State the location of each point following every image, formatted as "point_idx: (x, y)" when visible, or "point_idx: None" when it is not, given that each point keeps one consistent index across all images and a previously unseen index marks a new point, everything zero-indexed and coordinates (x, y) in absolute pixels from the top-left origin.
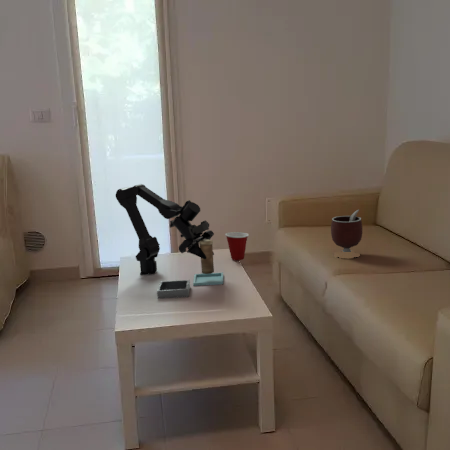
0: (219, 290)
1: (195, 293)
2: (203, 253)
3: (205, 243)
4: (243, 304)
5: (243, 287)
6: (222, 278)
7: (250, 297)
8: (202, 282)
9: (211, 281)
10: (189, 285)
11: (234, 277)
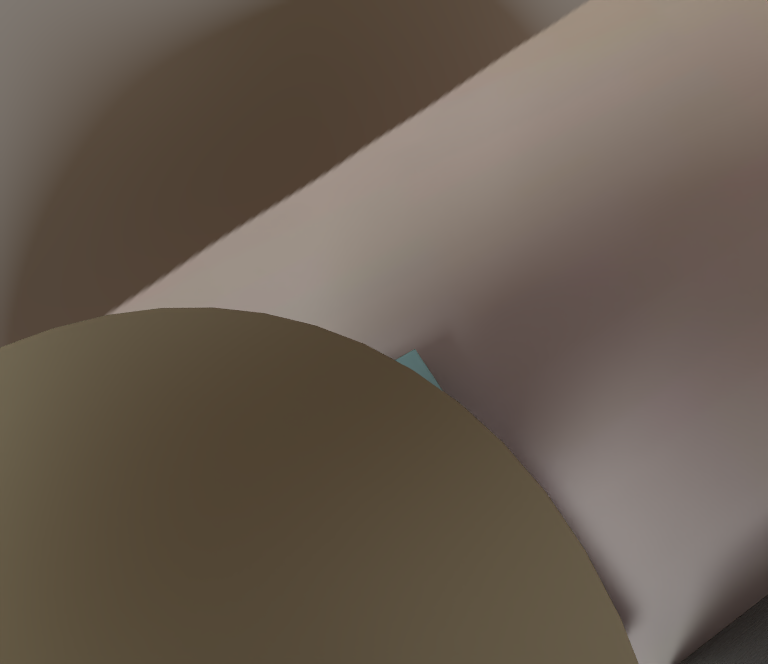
0: (552, 323)
1: (756, 498)
2: None
3: (564, 537)
4: (701, 42)
5: (393, 186)
6: None
7: (563, 60)
8: None
9: None
10: (757, 640)
11: None
